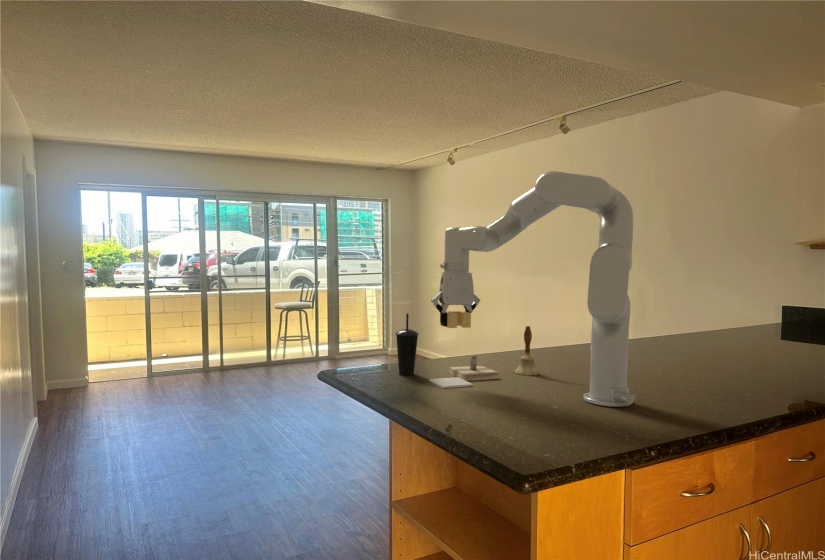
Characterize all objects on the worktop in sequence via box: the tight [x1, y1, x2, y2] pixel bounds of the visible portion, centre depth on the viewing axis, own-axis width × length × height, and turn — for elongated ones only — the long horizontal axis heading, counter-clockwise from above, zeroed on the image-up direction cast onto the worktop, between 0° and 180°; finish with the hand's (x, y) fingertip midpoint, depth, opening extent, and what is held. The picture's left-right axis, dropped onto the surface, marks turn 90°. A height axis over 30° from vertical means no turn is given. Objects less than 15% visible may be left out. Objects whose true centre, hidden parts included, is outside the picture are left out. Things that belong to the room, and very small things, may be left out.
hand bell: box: [514, 325, 540, 376], centre depth 183 cm, size 8×8×16 cm
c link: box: [440, 310, 472, 329], centre depth 166 cm, size 7×7×4 cm
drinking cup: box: [395, 313, 420, 376], centre depth 178 cm, size 8×8×20 cm
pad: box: [428, 376, 474, 389], centre depth 165 cm, size 10×10×1 cm
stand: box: [448, 354, 499, 382], centre depth 177 cm, size 12×12×7 cm
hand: (455, 325), depth 166 cm, fingers closed on c link, 7 cm apart
